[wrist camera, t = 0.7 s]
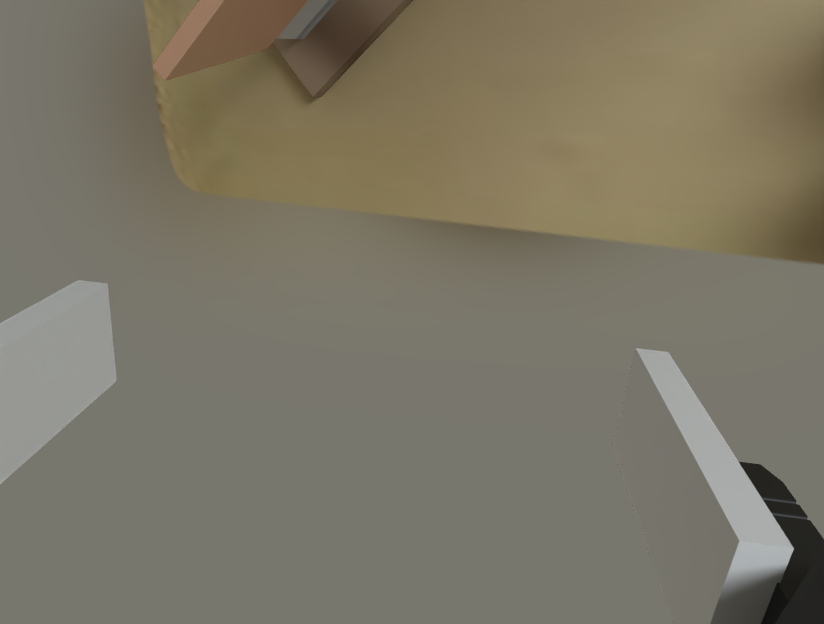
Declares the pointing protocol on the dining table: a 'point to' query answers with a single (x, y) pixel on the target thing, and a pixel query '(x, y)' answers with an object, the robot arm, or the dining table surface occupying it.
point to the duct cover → (224, 33)
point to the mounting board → (337, 41)
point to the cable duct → (306, 19)
